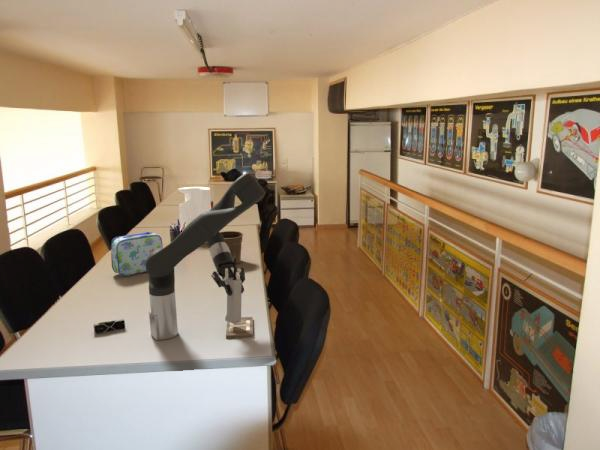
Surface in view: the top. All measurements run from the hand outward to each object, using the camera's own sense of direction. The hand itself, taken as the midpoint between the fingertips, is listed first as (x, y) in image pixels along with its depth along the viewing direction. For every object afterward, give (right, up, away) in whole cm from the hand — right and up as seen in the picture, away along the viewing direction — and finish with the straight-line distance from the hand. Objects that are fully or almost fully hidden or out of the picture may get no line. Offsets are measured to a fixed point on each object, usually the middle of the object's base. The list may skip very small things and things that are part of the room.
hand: (236, 293), depth 187 cm
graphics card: (-50, -16, +5) cm, 53 cm away
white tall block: (-43, +16, +139) cm, 147 cm away
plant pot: (-15, +5, +91) cm, 92 cm away
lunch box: (-62, +1, +77) cm, 98 cm away
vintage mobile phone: (-2, -11, +3) cm, 12 cm away
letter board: (+1, -14, +5) cm, 15 cm away
